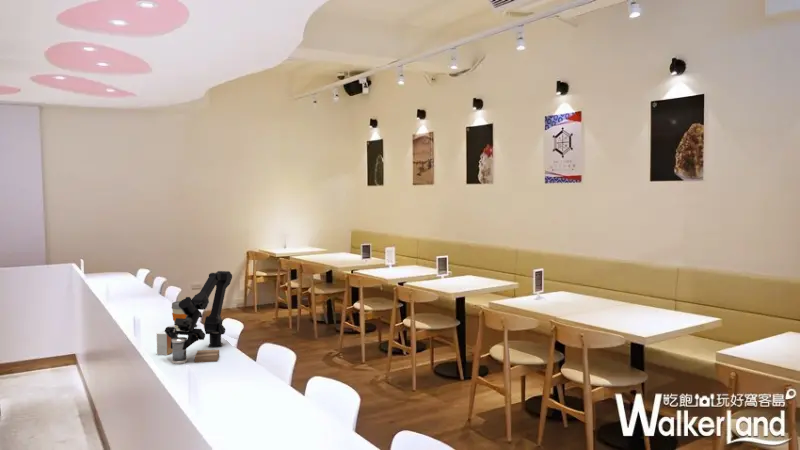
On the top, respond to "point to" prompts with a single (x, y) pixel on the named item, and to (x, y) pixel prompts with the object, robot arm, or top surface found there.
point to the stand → (207, 356)
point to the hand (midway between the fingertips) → (177, 348)
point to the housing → (179, 350)
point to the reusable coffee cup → (177, 312)
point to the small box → (163, 344)
